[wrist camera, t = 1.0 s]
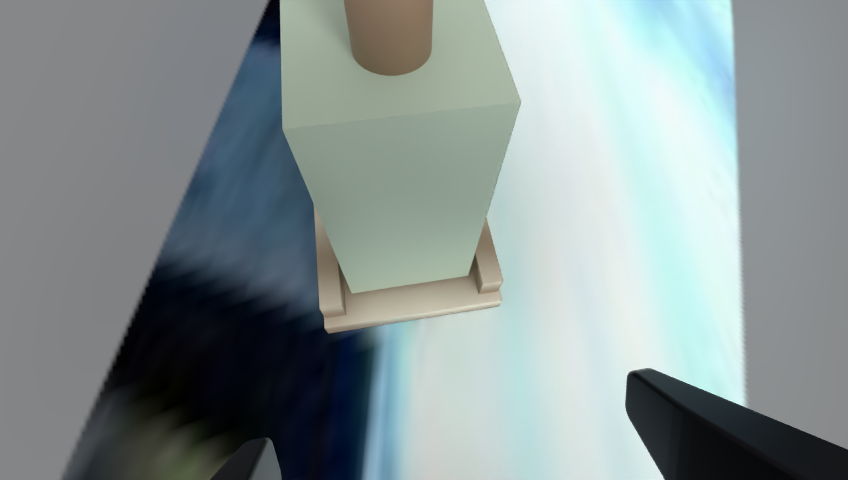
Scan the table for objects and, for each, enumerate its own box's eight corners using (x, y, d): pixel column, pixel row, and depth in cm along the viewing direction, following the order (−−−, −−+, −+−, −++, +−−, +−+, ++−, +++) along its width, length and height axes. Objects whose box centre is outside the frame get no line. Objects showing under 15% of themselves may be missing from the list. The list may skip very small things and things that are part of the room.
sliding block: (468, 275, 21) (557, -17, 8) (351, 293, 21) (233, 12, 7) (449, 195, 23) (494, -141, 10) (343, 209, 23) (241, -126, 9)
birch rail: (498, 306, 22) (508, 290, 20) (328, 333, 21) (318, 320, 19) (440, 79, 29) (442, 49, 27) (312, 93, 29) (304, 63, 26)
